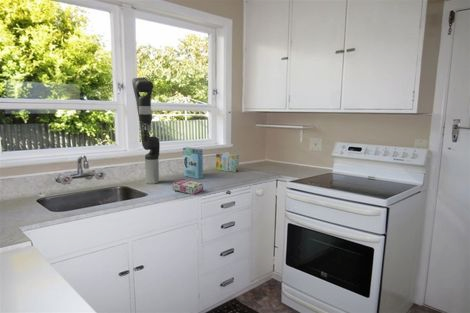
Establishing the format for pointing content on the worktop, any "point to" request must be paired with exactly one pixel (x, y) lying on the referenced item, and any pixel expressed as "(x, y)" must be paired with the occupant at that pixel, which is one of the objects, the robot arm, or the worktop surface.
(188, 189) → the candy bar box
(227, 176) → the worktop surface
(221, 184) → the worktop surface
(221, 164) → the snack box
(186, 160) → the gum box
